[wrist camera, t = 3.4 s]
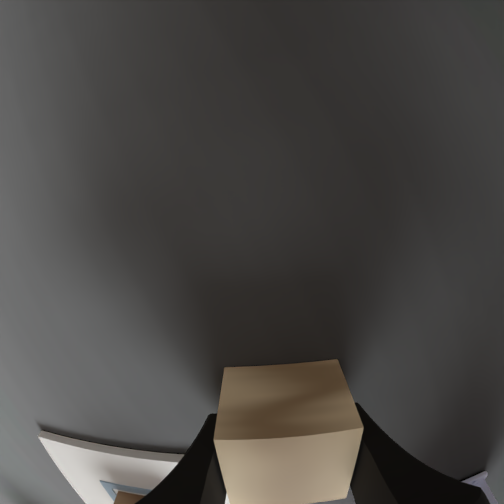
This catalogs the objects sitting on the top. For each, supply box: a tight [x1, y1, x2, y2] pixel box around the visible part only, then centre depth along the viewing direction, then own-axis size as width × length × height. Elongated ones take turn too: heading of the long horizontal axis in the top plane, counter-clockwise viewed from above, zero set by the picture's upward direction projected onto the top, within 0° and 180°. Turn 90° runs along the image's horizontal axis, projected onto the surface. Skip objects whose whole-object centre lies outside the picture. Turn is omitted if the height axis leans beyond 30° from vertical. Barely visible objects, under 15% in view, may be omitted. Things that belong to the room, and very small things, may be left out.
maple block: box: [214, 359, 364, 504], centre depth 11 cm, size 4×4×4 cm
